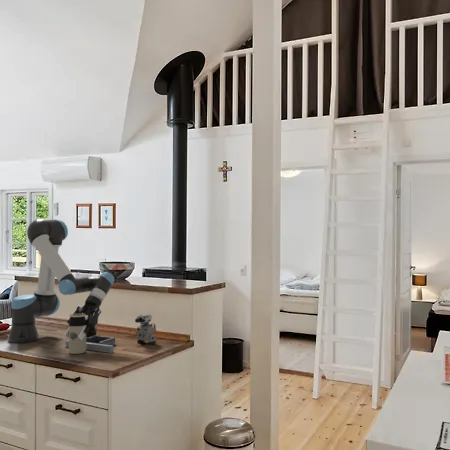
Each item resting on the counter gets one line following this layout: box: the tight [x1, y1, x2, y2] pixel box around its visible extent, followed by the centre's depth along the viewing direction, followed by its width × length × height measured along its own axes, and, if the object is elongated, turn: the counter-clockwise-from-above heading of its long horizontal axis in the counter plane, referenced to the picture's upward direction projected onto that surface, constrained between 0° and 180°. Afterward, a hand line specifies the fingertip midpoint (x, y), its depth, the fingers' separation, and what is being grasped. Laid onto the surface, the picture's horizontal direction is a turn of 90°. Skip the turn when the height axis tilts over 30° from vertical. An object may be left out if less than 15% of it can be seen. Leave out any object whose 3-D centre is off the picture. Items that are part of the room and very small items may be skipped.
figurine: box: [134, 314, 157, 346], centre depth 257 cm, size 9×12×15 cm
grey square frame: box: [86, 334, 116, 346], centre depth 252 cm, size 12×12×4 cm
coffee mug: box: [85, 316, 99, 338], centre depth 276 cm, size 12×9×10 cm
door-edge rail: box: [65, 339, 114, 354], centre depth 245 cm, size 28×2×3 cm, turn 65°
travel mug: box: [68, 313, 87, 355], centre depth 239 cm, size 8×8×18 cm
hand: (72, 337), depth 236 cm, fingers closed on travel mug, 8 cm apart
